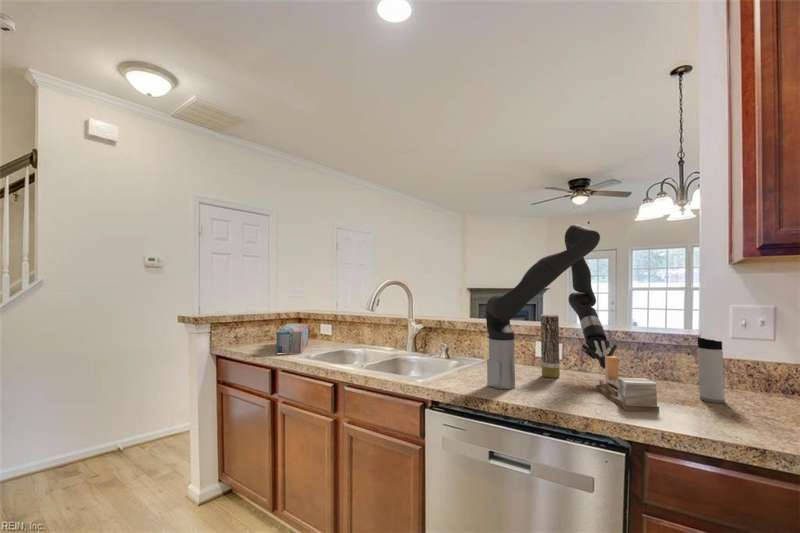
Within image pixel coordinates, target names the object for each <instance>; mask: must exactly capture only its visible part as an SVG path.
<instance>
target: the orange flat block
mask: <svg viewBox="0 0 800 533" xmlns="http://www.w3.org/2000/svg"><path fill="white" fill-rule="evenodd" d="M604 370H605V383H607V384H608V385H610V386H611V387H614V388H615V389H617V390H618V378H619V357H617V356H616V355H615V356H614V355H612V356H605V369H604Z"/></svg>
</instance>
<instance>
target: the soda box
mask: <svg viewBox="0 0 800 533" xmlns="http://www.w3.org/2000/svg"><path fill="white" fill-rule="evenodd" d="M308 343H309V323H286V324H285V325H284V326H283V327H281V328H280V329H278V331H276V345H275V346H276V347H275V348H276V350H275V354H276V353H302V354H303V352H304V350H305V349H306V347H307V345H308Z"/></svg>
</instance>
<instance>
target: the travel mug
mask: <svg viewBox="0 0 800 533" xmlns="http://www.w3.org/2000/svg"><path fill="white" fill-rule="evenodd" d="M723 353H724V352H723V340H722V341H721V340H714V339H710V338H704V337H697V363H698V364H697V366H698V386H699V388H698V391H699V399H700V400H701V401H703V400H704V401H703V402H706V401H708V402H707V403H711V402H712V404H724V403H725V402H726V397H725V395H726V394H725V376H724V354H723Z"/></svg>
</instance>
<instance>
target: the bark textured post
mask: <svg viewBox="0 0 800 533" xmlns="http://www.w3.org/2000/svg"><path fill="white" fill-rule="evenodd" d="M559 324H560V323H559V314H556V313H555V314H552V313H542V314H540V346H541V347H540V348H541V349H540V350H541V351H540V353H541V375H542V377H545V378H551V379H557V378H559V377H560V375H561V374H560V332H559V331H560V330H559V328H560V326H559Z"/></svg>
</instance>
